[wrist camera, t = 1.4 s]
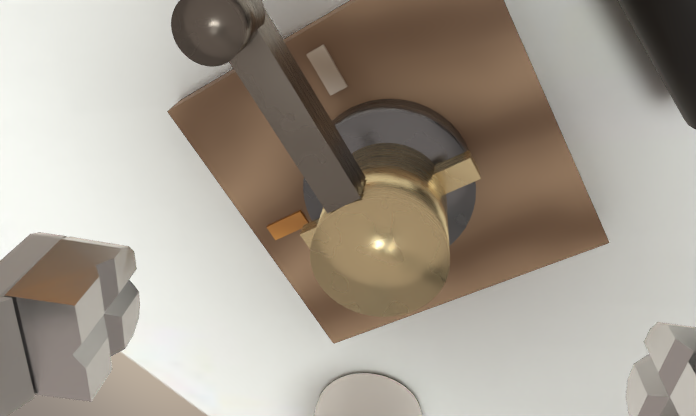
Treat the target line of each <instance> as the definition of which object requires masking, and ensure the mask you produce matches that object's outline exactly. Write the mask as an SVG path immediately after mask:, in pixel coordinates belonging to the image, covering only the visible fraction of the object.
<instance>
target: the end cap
mask: <svg viewBox="0 0 696 416" xmlns="http://www.w3.org/2000/svg"><path fill="white" fill-rule="evenodd" d="M617 1H618V2H619V4H620V6H621V8H622V9H623V11H624V13H625V15H626V17H627V18H628V20H629V22H630V24H631V25H632V27H633V29H634V31H635V33H636V34H637V36H638V38H639V40H640V41H641V43H642V45H643V47H644V49H645V50H646V52H647V54H648V56H649V58H650V59H651V61H652V63H653V65H654V66H655V68H656V70H657V72H658V74H659V75H660V77H661V79H662V81H663V82H664V84H665V86H666V88H667V90H668V91H669V93H670V95H671V97H672V98H673V100H674V102H675V104H676V106H677V107H678V109H679V111H680V113H681V114H682V116H683V118H684V120H685V121H686V122H687V124H688V125H689V126H691V127H692V128H694V129H696V0H617Z"/></svg>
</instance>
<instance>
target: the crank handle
mask: <svg viewBox="0 0 696 416" xmlns="http://www.w3.org/2000/svg"><path fill="white" fill-rule="evenodd" d="M171 27H172V33H173V36H174V39H175V41H176V44H177V45H178V47H179V48H180V50H181V51H182V52H183V53H184V54H185V55H186V56H187V57H188V58H189V59H191V60H192V61H194V62H196V63H198V64H201V65H205V66H219V65H223V64H225V63H227V62H230V64H231V65H232V67H233V69H234V70H235V72H236V73H237V75H238V76H239V78H240V79H241V81H242V82H243V84H244V86H245V87H246V89H247V90H248V92H249V93H250V95H251V96H252V98H253V99H254V101H255V102H256V104H257V106H258V107H259V109H260V110H261V112H262V113H263V115H264V116H265V118H266V119H267V121H268V123H269V124H270V126H271V127H272V129H273V130H274V132H275V133H276V135H277V136H278V138H279V140H280V141H281V143H282V144H283V146H284V147H285V149H286V150H287V152H288V153H289V155H290V156H291V158H292V160H293V161H294V163H295V164H296V166H297V167H298V169H299V170H300V172H301V173H302V175H303V177H304V178H305V180H306V181H307V183H308V184H309V186H310V187H311V189H312V190H313V192H314V194H315V195H316V197H317V198H318V200H319V201H320V203H321V204H322V206H323V209H322V212H321V215H320V218H318V219H315V220H313V221H311V222H309V223H307V224H304V225H303V227H302V230H301V233H300V236H301V237H302V238H303V240H304V241H305V243H306V244H307V246H308V247H309V249H310V262H311V267H312V271H313V273H314V276H315V278H316V280H317V282H318V283H319V285H320V286H321V288H322V289H323V290H324V291H325V292H326V293H327V294H328V295H329V296H330V297H331V298H332V299H333V300H335V301H336V302H337V303H339V304H340V305H342V306H344V307H345V308H348V309H350V310H352V311H355V312H357V313H360V314H365V315H369V316H377V317H390V316H398V315H403V314H406V313H410V312H412V311H415V310H417V309H419V308H421V307H423V306H424V305H426V304H427V303H428V302H430V301H431V300H432V299H433V298H434V297H435V296H436V295H437V294H438V293H439V292H440V290H441V289H442V287H443V285H444V284H445V282H446V279H447V276H448V273H449V268H450V250H449V232H448V213H447V195H446V194H447V193H449V192H452V191H454V190H456V189H458V188H461V187H463V186H465V185H468V184H470V183H472V182H475V181H477V180H479V179H481V176H480V170H479V168H478V166H477V164H476V162H475V160H474V158H473V156H472V154H471V152H470V150H467V151H465V152H463V153H461V154H459V155H456V156H454V157H452V158H450V159H448V160H445V161H443V162H441V163H439V164H437V165H434V163H433V162H432V161H431V160H430V159H429V158H428V157H426V156H425V155H424V154H422V153H421V152H419V151H417V150H415V149H413V148H411V147H408V146H405V145H401V144H395V143H378V144H372V145H369V146H365V147H363V148H361V149H358V150H357V151H355V152H353V153H352V154H351V152H350V150H349V149H348V147H347V145H346V144H345V142H344V140H343V139H342V137H341V135H340V134H339V132H338V130H337V129H336V127H335V125H334V124H333V122H332V120H331V119H330V117H329V115H328V114H327V112H326V110H325V109H324V107H323V105H322V104H321V102H320V100H319V99H318V97H317V95H316V94H315V92H314V90H313V89H312V87H311V85H310V84H309V82H308V80H307V79H306V77H305V75H304V74H303V72H302V70H301V69H300V67H299V65H298V64H297V62H296V60H295V59H294V57H293V55H292V54H291V52H290V50H289V49H288V47H287V45H286V44H285V42H284V40H283V39H282V37H281V35H280V34H279V32H278V30H277V29H276V27H275V25H274V24H273V22H272V20H271V19H270V17H269V15H268V14H267V12H266V10H265V9H264V5H263V2H262V0H180V1H179V2H178V4H177V5H176V7H175V9H174V11H173V14H172V20H171Z"/></svg>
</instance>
